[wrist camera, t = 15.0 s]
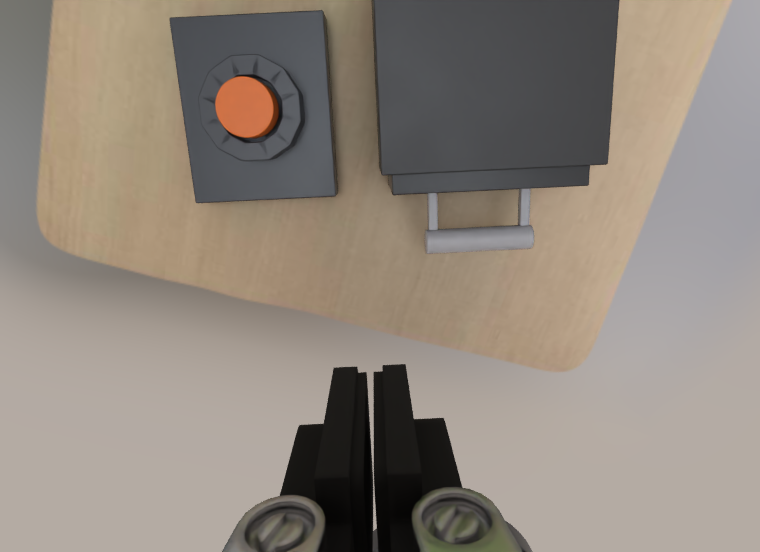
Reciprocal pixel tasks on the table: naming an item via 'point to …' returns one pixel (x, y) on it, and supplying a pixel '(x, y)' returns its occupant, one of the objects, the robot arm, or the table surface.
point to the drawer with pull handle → (484, 181)
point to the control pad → (291, 88)
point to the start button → (246, 107)
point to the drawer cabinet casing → (493, 83)
